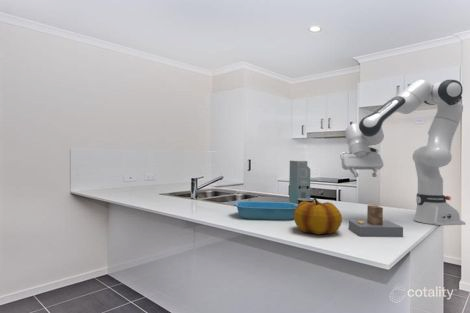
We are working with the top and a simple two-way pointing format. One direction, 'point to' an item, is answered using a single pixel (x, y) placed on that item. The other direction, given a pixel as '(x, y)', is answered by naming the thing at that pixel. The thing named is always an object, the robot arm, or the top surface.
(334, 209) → the decorative pumpkin
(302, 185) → the device
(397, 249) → the top surface
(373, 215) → the walnut plug
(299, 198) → the coffee mug
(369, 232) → the socket block
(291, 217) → the casserole dish
